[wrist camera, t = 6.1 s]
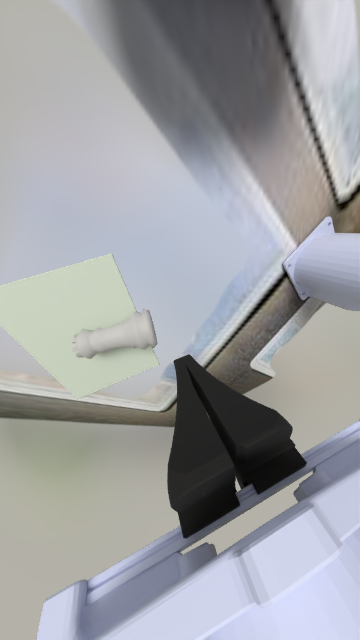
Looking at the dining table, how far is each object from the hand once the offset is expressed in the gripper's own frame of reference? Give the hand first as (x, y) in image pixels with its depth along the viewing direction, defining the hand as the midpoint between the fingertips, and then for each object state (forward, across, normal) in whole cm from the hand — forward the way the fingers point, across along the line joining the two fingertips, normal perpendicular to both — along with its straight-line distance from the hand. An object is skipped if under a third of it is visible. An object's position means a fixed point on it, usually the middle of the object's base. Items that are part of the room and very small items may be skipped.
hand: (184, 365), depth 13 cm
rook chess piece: (+7, +1, 0) cm, 7 cm away
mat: (+9, +8, 0) cm, 13 cm away
